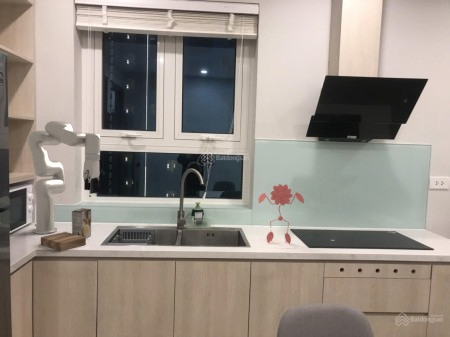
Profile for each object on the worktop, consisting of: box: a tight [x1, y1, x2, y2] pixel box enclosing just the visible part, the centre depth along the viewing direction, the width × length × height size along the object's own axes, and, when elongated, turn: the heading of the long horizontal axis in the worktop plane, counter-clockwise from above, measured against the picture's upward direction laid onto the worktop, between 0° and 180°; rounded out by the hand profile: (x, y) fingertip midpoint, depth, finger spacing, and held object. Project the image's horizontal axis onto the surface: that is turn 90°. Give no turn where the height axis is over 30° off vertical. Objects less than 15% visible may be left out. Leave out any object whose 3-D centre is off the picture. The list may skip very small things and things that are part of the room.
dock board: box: [40, 231, 87, 252], centre depth 182 cm, size 18×14×4 cm
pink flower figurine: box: [257, 183, 305, 245], centre depth 195 cm, size 15×26×35 cm, turn 85°
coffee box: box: [71, 207, 92, 239], centre depth 195 cm, size 9×6×16 cm
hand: (91, 188), depth 184 cm, fingers open, 9 cm apart
